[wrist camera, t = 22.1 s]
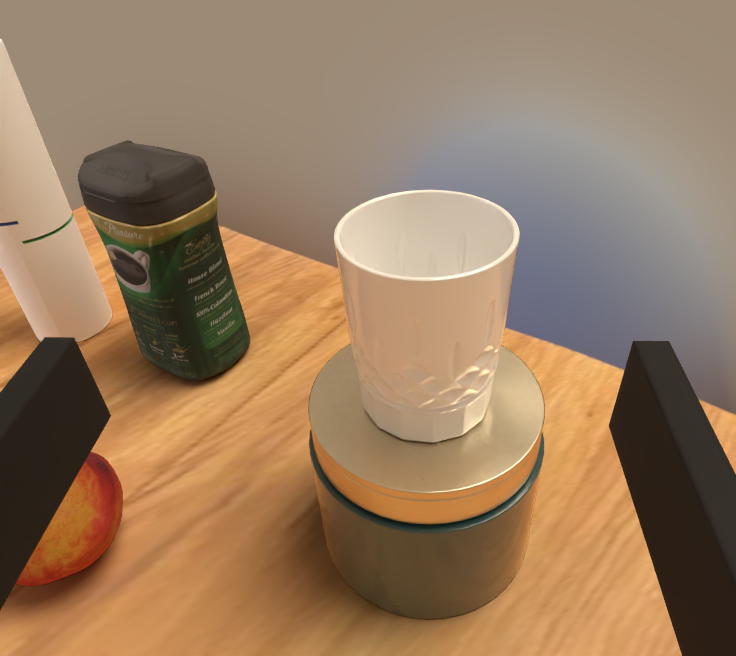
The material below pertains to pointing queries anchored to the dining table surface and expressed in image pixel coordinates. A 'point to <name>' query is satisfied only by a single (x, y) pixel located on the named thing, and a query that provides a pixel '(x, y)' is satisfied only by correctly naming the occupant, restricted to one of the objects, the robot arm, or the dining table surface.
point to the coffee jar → (167, 255)
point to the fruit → (78, 525)
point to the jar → (426, 551)
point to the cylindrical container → (42, 229)
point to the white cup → (426, 306)
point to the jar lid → (427, 448)
